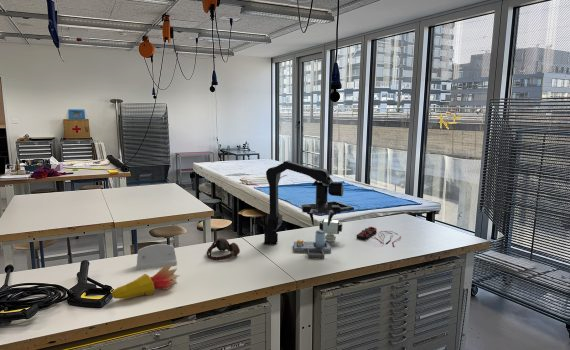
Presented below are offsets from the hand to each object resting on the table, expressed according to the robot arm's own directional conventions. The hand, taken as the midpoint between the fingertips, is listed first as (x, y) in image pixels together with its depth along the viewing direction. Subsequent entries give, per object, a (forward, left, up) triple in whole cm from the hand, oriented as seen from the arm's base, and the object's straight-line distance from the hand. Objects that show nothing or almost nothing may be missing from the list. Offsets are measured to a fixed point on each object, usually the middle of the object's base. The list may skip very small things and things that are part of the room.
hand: (320, 225), depth 189 cm
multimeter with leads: (+35, +20, -13) cm, 42 cm away
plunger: (-10, 0, -12) cm, 15 cm away
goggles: (-48, -11, -12) cm, 50 cm away
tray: (-3, -9, -12) cm, 16 cm away
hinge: (-74, -23, -12) cm, 78 cm away
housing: (-4, 0, -12) cm, 13 cm away
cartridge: (0, 0, -12) cm, 12 cm away
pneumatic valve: (+7, +14, -12) cm, 19 cm away
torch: (-69, -50, -12) cm, 85 cm away
